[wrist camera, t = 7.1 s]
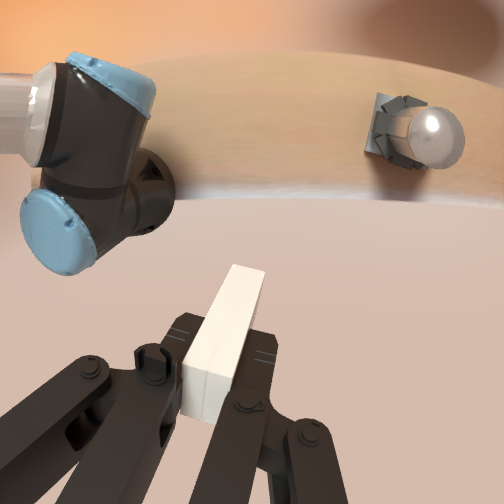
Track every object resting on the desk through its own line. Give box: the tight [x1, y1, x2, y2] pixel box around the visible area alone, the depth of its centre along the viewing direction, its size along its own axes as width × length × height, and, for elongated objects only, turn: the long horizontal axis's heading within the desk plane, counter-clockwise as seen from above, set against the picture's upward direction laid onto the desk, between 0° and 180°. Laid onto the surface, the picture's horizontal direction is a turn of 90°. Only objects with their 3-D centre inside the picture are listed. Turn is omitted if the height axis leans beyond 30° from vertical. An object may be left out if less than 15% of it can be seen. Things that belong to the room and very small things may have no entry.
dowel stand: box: [365, 93, 427, 170], centre depth 35 cm, size 10×9×12 cm
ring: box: [372, 96, 428, 170], centre depth 37 cm, size 10×10×2 cm
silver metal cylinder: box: [387, 106, 465, 169], centre depth 32 cm, size 7×7×10 cm
